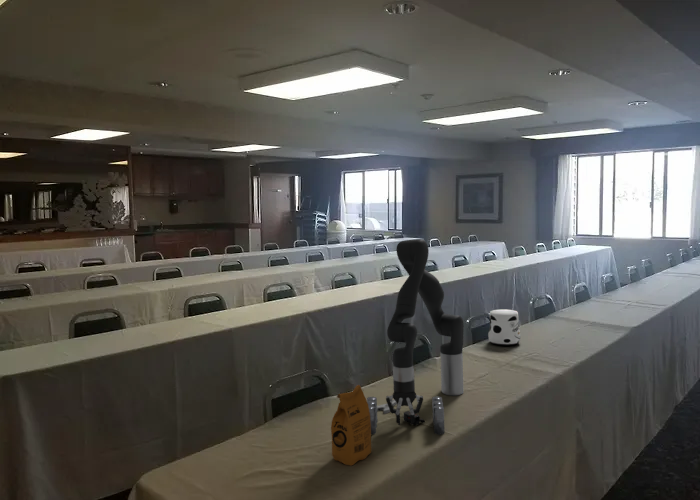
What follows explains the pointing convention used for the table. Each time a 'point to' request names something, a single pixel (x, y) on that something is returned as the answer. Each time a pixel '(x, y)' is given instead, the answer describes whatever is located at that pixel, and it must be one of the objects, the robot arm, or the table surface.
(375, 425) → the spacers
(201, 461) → the table surface
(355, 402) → the coffee package
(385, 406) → the adjustable wrench
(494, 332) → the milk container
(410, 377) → the robot arm
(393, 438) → the table surface
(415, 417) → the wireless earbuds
